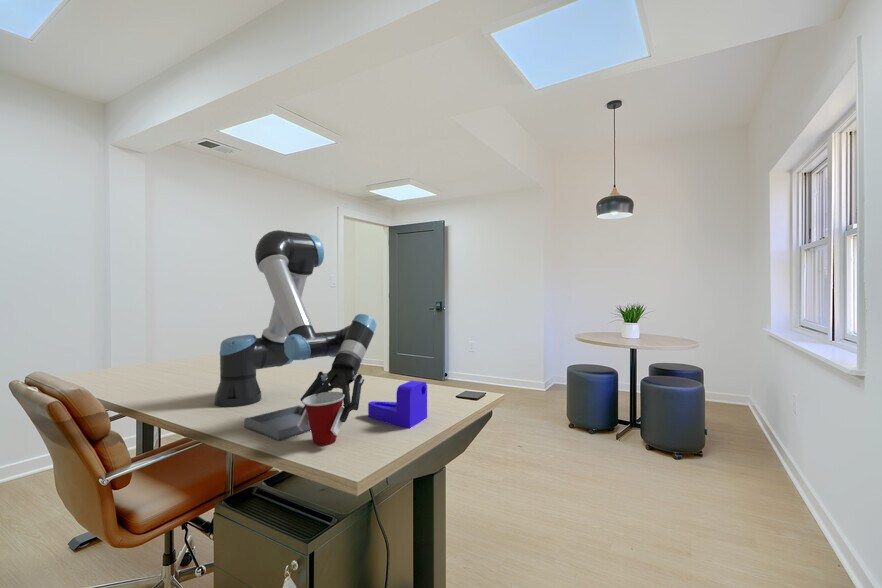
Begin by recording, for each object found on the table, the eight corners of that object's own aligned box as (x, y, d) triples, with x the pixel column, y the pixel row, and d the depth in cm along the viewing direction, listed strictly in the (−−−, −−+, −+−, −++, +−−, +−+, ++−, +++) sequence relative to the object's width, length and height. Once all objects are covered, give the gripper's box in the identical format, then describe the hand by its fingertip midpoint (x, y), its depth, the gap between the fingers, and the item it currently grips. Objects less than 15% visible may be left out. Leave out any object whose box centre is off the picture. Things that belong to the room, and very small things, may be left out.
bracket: (427, 418, 128) (427, 380, 128) (410, 428, 118) (410, 388, 118) (379, 411, 136) (379, 375, 136) (359, 420, 126) (359, 382, 126)
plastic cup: (295, 441, 108) (295, 395, 108) (333, 431, 115) (332, 389, 115) (313, 453, 100) (313, 404, 100) (352, 442, 107) (352, 396, 107)
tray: (244, 427, 119) (244, 418, 119) (299, 412, 133) (299, 405, 133) (278, 440, 108) (278, 431, 108) (334, 423, 122) (334, 415, 122)
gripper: (387, 368, 119) (360, 442, 104) (321, 364, 125) (287, 433, 110) (378, 353, 114) (349, 428, 99) (311, 349, 120) (274, 419, 105)
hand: (316, 430), depth 104 cm, fingers closed on plastic cup, 9 cm apart
